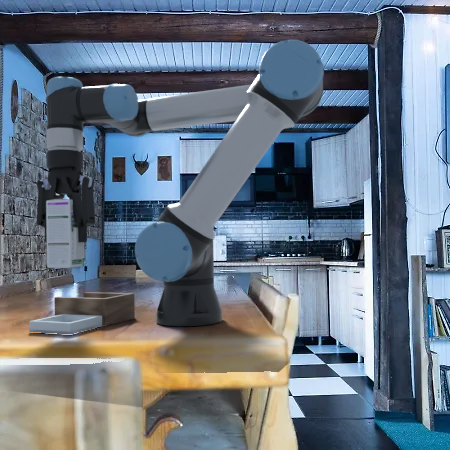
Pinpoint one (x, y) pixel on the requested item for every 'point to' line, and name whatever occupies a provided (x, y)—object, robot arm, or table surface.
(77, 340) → the table surface
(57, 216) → the syrup box
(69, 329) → the tray
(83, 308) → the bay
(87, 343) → the table surface
